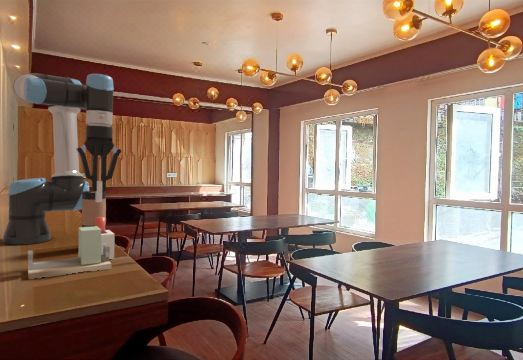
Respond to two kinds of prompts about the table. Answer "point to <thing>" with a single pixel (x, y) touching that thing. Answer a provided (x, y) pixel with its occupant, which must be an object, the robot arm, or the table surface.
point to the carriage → (89, 245)
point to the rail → (65, 265)
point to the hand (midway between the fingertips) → (98, 201)
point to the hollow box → (108, 242)
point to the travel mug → (92, 208)
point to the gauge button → (100, 223)
